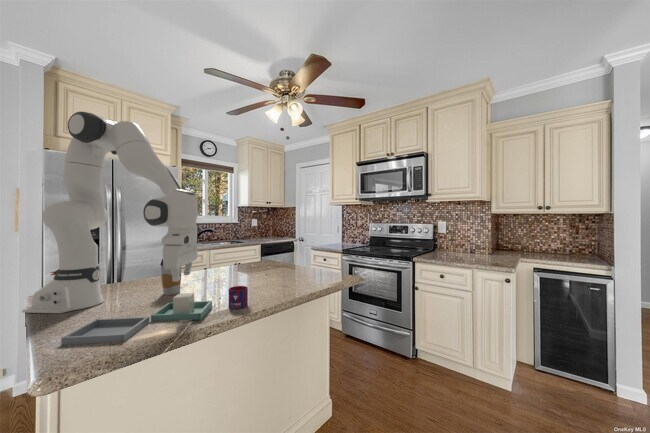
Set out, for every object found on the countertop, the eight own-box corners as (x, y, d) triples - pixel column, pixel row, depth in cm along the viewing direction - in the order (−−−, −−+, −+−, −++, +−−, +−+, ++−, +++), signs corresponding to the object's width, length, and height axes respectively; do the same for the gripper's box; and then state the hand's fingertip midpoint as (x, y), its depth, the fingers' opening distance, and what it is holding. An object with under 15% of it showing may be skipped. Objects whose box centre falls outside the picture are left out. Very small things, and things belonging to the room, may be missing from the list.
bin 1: (61, 347, 71) (61, 338, 71) (96, 327, 84) (96, 319, 84) (124, 343, 73) (124, 334, 73) (149, 324, 86) (149, 316, 86)
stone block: (173, 315, 92) (173, 297, 92) (179, 310, 96) (179, 293, 96) (189, 315, 92) (189, 297, 92) (194, 309, 97) (194, 292, 97)
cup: (226, 309, 99) (226, 290, 99) (234, 300, 109) (234, 283, 109) (245, 309, 100) (244, 290, 99) (251, 300, 110) (251, 283, 109)
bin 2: (150, 323, 87) (150, 315, 87) (168, 309, 100) (168, 302, 100) (201, 320, 89) (201, 313, 89) (212, 307, 102) (212, 300, 102)
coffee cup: (186, 290, 124) (186, 257, 124) (174, 296, 116) (174, 260, 115) (168, 290, 125) (168, 257, 125) (155, 295, 116) (155, 260, 116)
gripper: (184, 234, 104) (183, 271, 104) (158, 239, 84) (157, 285, 84) (202, 235, 105) (201, 271, 105) (180, 239, 84) (179, 285, 84)
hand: (181, 277), depth 94 cm, fingers open, 8 cm apart
